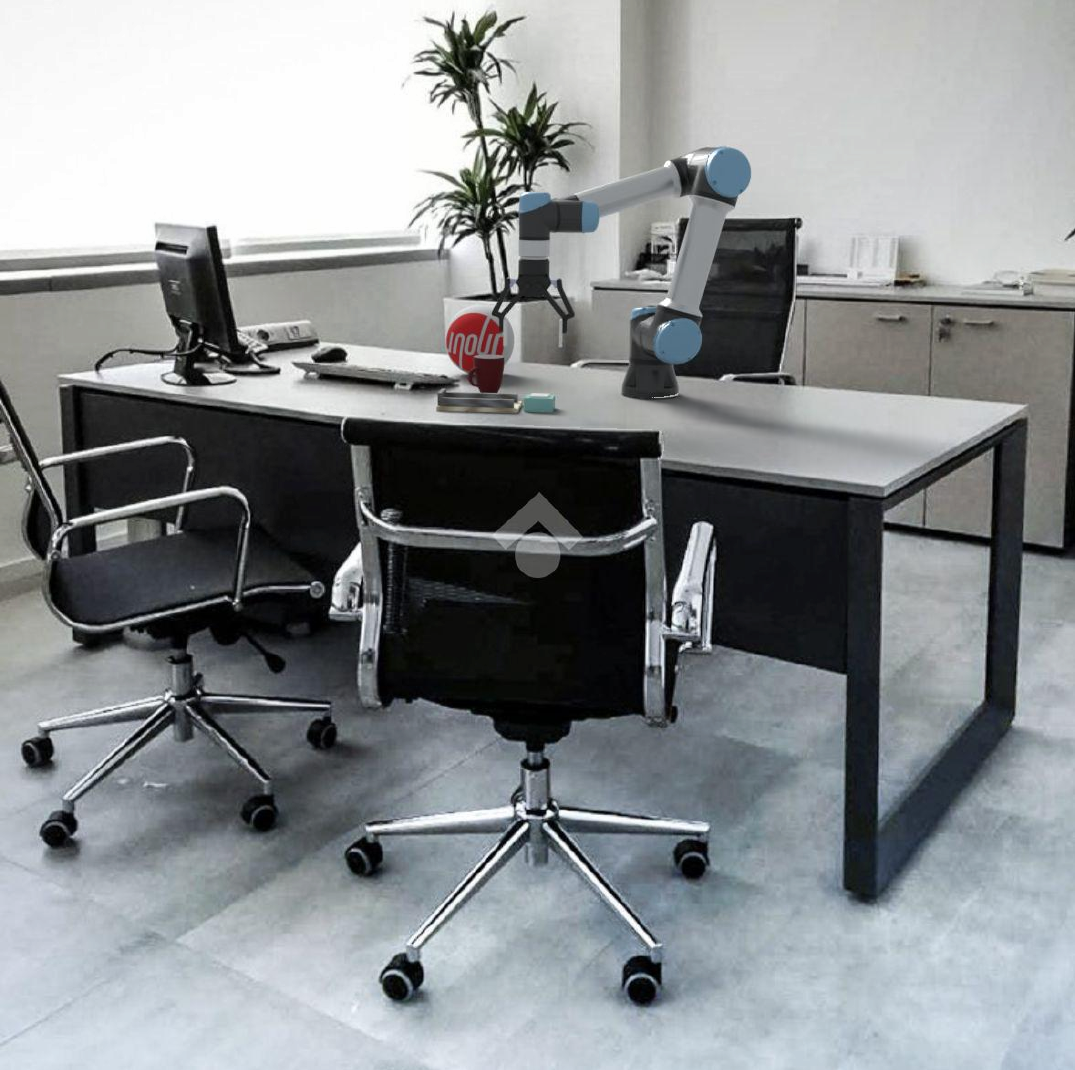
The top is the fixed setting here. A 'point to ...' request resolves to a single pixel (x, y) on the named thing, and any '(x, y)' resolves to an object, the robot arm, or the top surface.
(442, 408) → the rail mount
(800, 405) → the top surface
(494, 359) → the mug
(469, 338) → the decorative sphere
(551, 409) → the block
